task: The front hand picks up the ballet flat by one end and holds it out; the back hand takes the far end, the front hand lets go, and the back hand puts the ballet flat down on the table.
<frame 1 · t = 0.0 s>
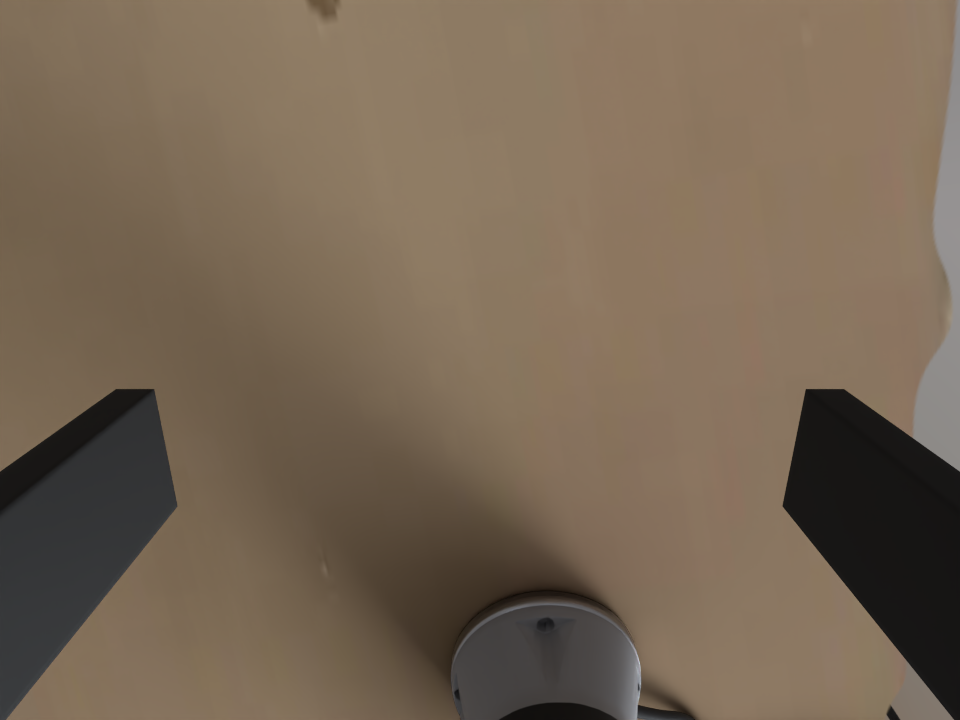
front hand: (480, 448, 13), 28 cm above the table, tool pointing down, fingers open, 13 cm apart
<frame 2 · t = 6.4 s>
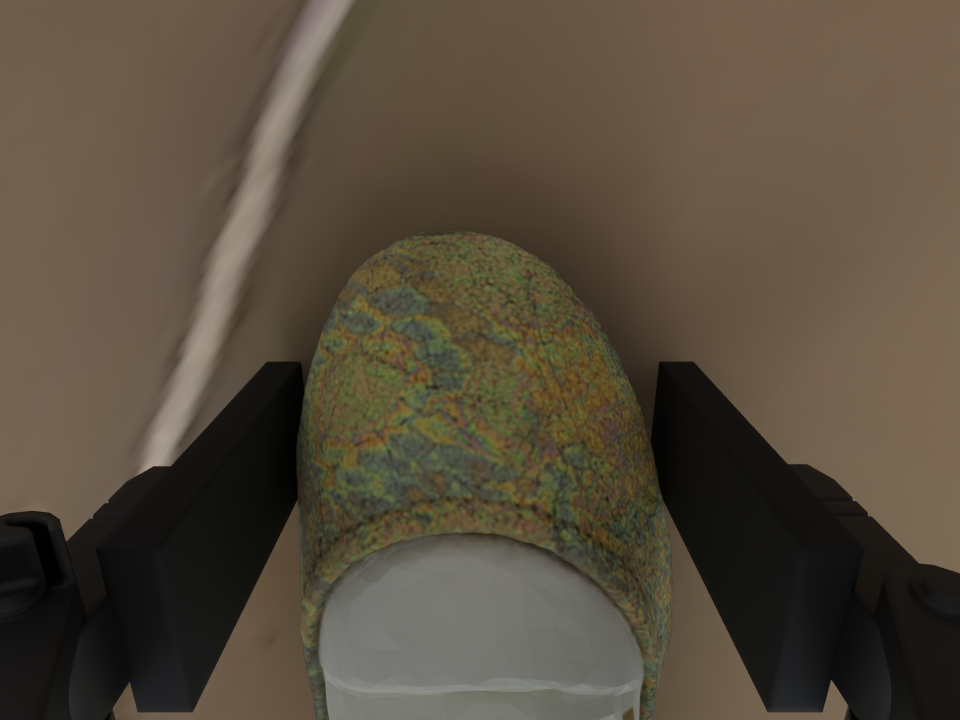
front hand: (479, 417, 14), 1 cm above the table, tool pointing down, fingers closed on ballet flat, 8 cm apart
ballet flat: (486, 662, 17), on the table, touching front hand
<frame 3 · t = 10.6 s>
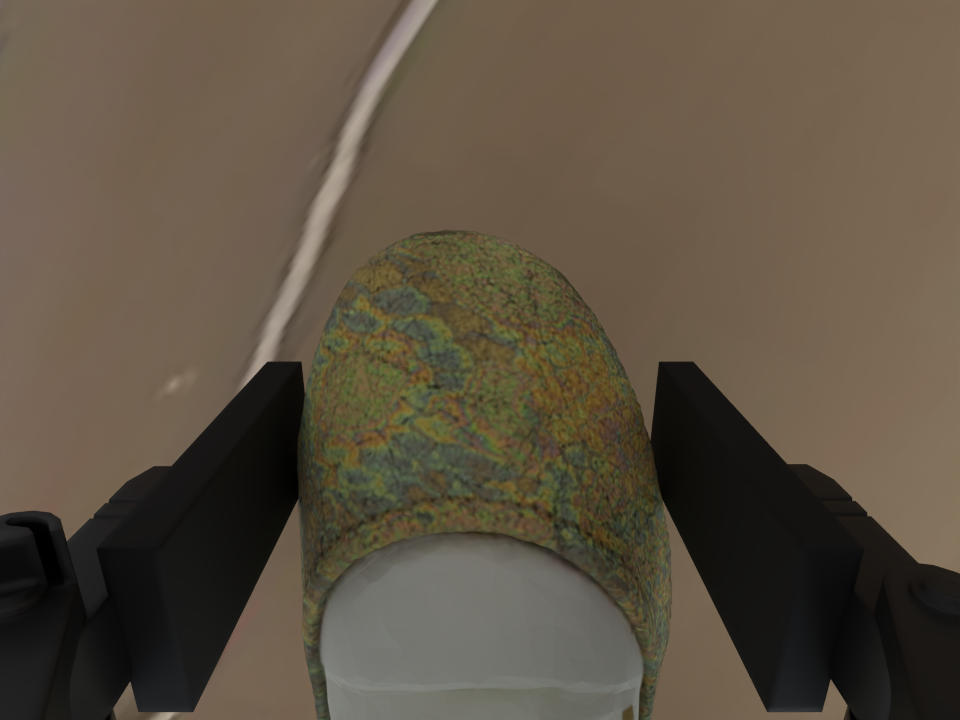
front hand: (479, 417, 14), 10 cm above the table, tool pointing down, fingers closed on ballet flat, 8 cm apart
ballet flat: (485, 661, 17), point 9 cm above the table, touching front hand, back hand
when the front hand's fingers open (10 cm above the table, at t = 11.4 s): ballet flat stays where it is, held by the back hand.
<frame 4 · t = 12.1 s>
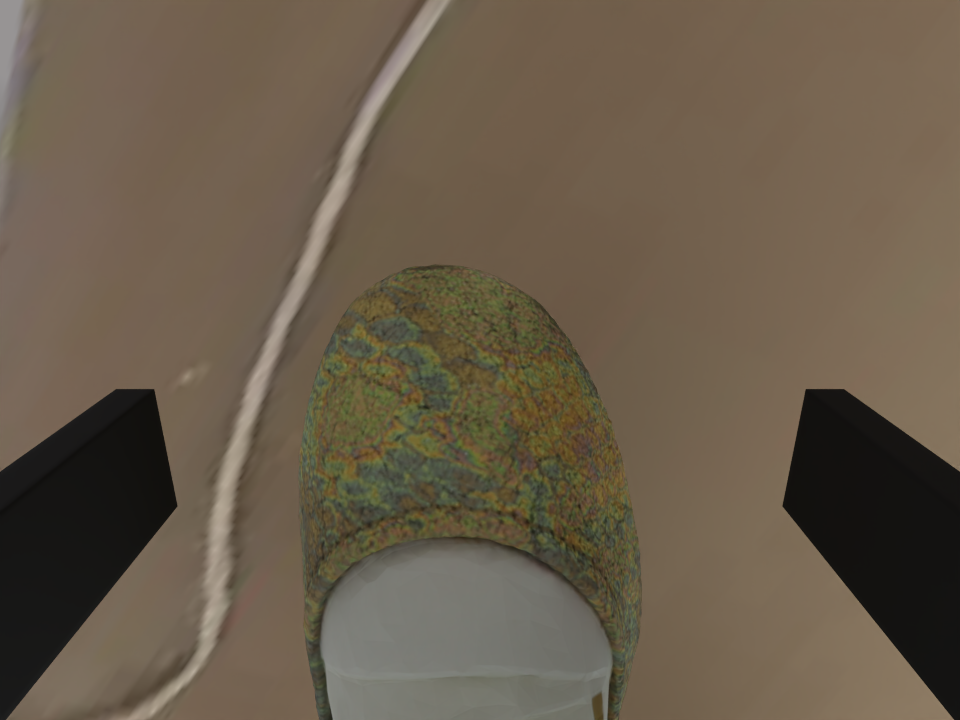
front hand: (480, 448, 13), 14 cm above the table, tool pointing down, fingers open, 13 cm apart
ballet flat: (472, 658, 19), point 11 cm above the table, touching back hand
when the back hand's fingers open (2 cm above the table, at t = 19.0 s): ballet flat drops 1 cm, on the table.
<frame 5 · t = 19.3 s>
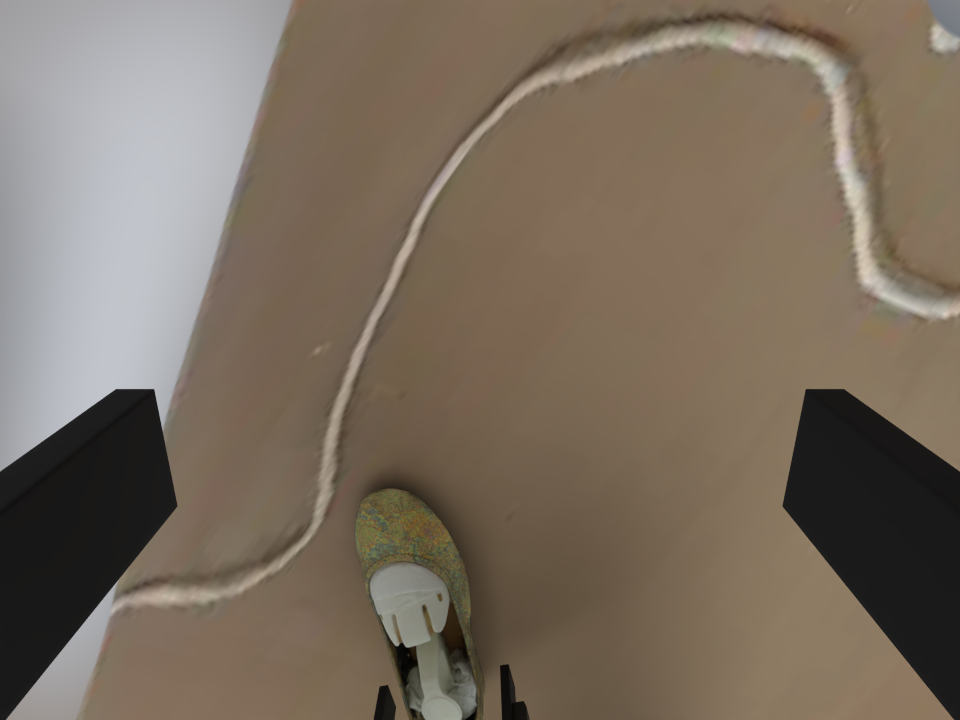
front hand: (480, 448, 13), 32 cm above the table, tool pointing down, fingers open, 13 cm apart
ballet flat: (429, 596, 54), on the table
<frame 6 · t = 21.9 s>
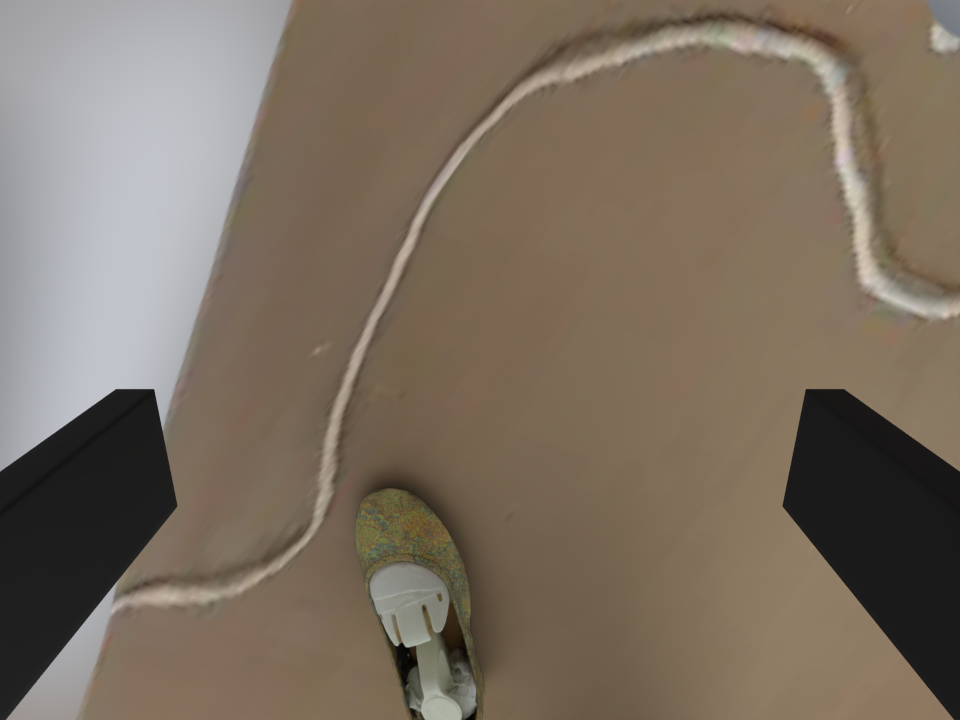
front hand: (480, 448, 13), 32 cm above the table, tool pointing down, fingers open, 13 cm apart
ballet flat: (429, 596, 54), on the table
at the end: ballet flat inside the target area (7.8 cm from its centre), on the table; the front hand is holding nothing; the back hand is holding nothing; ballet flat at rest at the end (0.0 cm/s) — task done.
